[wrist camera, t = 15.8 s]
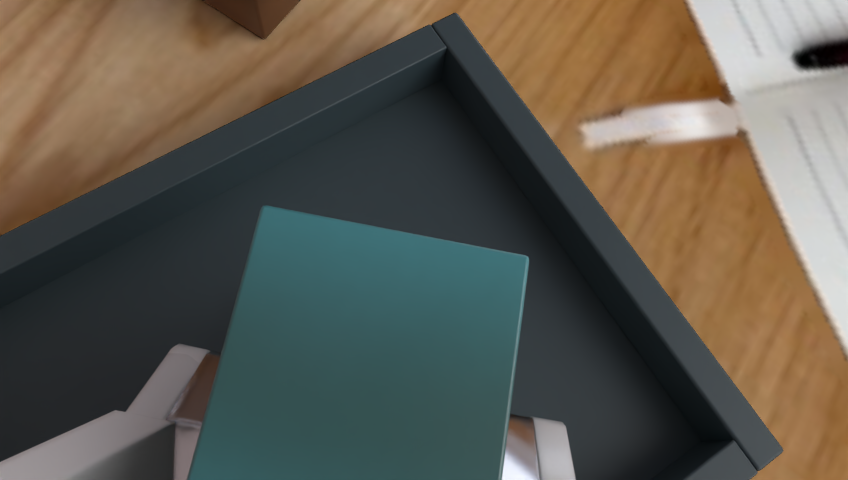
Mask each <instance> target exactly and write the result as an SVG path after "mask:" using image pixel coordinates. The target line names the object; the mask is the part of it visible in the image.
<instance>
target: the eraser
mask: <svg viewBox="0 0 848 480" xmlns="http://www.w3.org/2000/svg"><path fill="white" fill-rule="evenodd" d="M528 268H529V258H528V256H526V255H521V254H516V253H511V252H506V251H500V250H495V249H490V248H485V247H480V246H474V245H469V244H464V243H459V242H454V241H449V240H443V239H438V238H433V237H428V236H423V235H417V234H412V233H407V232H402V231H397V230H391V229H386V228H381V227H376V226H371V225H365V224H360V223H355V222H350V221H345V220H340V219H334V218H329V217H324V216H319V215H314V214H308V213H303V212H298V211H293V210H288V209H282V208H277V207H272V206H263V207H262V208H261V210H260V213H259V217H258V221H257V224H256V228H255V232H254V235H253V239H252V243H251V246H250V250H249V253H248V257H247V261H246V264H245V268H244V272H243V275H242V279H241V283H240V286H239V290H238V294H237V297H236V301H235V305H234V308H233V312H232V316H231V319H230V323H229V327H228V330H227V334H226V338H225V341H224V345H223V349H222V352H221V356H220V359H219V363H218V367H217V370H216V374H215V378H214V381H213V385H212V389H211V392H210V396H209V400H208V403H207V407H206V411H205V414H204V418H203V422H202V425H201V429H200V433H199V436H198V440H197V444H196V447H195V451H194V454H193V458H192V462H191V465H190V469H189V473H188V476H187V480H502V475H503V467H504V459H505V451H506V443H507V435H508V427H509V419H510V411H511V403H512V395H513V387H514V379H515V371H516V363H517V355H518V347H519V339H520V331H521V323H522V315H523V307H524V299H525V291H526V283H527V276H528Z"/></svg>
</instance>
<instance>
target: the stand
mask: <svg viewBox="0 0 848 480" xmlns="http://www.w3.org/2000/svg"><path fill="white" fill-rule="evenodd" d="M203 1H204V2H206V3H208V4H209V5H211V6H212V7H214V8H215V9H217V10H219V11H220V12H222V13H223V14H225V15H226V16H228V17H230V18H231V19H233V20H234V21H236V22H237V23H239V24H241V25H242V26H244V27H245V28H247V29H248V30H250V31H252V32H253V33H255V34H256V35H258V36H259V37H261V38H263V39H265V38H266V37H267V36H268V35H269V34H270V33H271V32H272V31H273V30H274V29H275V27H276V26H277V25H278V24H279V23H280V22H281V21H282V20H283V19H284V18H285V16H286V15H287V14H288V13H289V12H290V11H291V10H292V9H293V8H294V7H295V6H296V4H297V3H298V2H299V1H300V0H203Z"/></svg>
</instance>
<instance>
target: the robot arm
mask: <svg viewBox="0 0 848 480" xmlns="http://www.w3.org/2000/svg"><path fill="white" fill-rule="evenodd" d="M220 356H221V352H217V351H209V350H206V349H201V348H197V347H192V346H188V345H183V344H178V345H176V346H174V347H173V348H171V350H170V351H169V352H168V354H167V355H166V356H165V358H164V359H163V361H162V362H161V363H160V365H159V366H158V368H157V369H156V370H155V372H154V373H153V374H152V376H151V377H150V379H149V380H148V381H147V383H146V384H145V386H144V387H143V388H142V390H141V391H140V392H139V394H138V395H137V397H136V398H135V399H134V401H133V402H132V404H131V405H130V406H129V408H128V409H127V410H126V412H123V411H117V410H115V411H112V412H110V413H108V414H106V415H103V416H101V417H99V418H97V419H95V420H92V421H90V422H88V423H86V424H83V425H81V426H79V427H77V428H75V429H72V430H70V431H68V432H66V433H63V434H61V435H59V436H57V437H55V438H52V439H50V440H48V441H46V442H43V443H41V444H39V445H37V446H35V447H32V448H30V449H28V450H26V451H23V452H21V453H19V454H17V455H15V456H12V457H10V458H8V459H6V460H3V461H1V462H0V480H187V476H188V473H189V469H190V465H191V462H192V458H193V454H194V451H195V447H196V444H197V440H198V436H199V433H200V429H201V425H202V422H203V418H204V414H205V411H206V407H207V403H208V400H209V396H210V392H211V389H212V385H213V381H214V378H215V374H216V370H217V367H218V363H219V359H220ZM502 480H576V478H575V472H574V467H573V462H572V456H571V451H570V446H569V440H568V435H567V430H566V426H565V425H564V424H563V422H560V421H554V420H549V419H543V418H537V417H532V416H531V417H527V416H522V415H517V414H512V413H510V419H509V427H508V435H507V443H506V451H505V459H504V467H503V475H502Z"/></svg>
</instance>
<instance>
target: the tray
mask: <svg viewBox="0 0 848 480" xmlns="http://www.w3.org/2000/svg"><path fill="white" fill-rule="evenodd" d="M263 206H272V207H277V208H282V209H288V210H293V211H298V212H303V213H308V214H314V215H319V216H324V217H329V218H334V219H340V220H345V221H350V222H355V223H360V224H365V225H371V226H376V227H381V228H386V229H391V230H397V231H402V232H407V233H412V234H417V235H423V236H428V237H433V238H438V239H443V240H449V241H454V242H459V243H464V244H469V245H474V246H480V247H485V248H490V249H495V250H500V251H506V252H511V253H516V254H521V255H526V256H528V258H529V268H528V276H527V283H526V291H525V299H524V307H523V315H522V323H521V331H520V339H519V347H518V355H517V363H516V371H515V379H514V387H513V395H512V403H511V411H510V413H512V414H517V415H522V416H527V417H531V416H532V417H537V418H543V419H549V420H554V421H560V422H563V424H564V425H565V426H566V430H567V435H568V440H569V446H570V451H571V456H572V462H573V467H574V472H575V478H576V480H750V479H751V478H752V477H754V476H755V475H756V474H757V471H760V470H761V469H763V468H764V467H765V466H766V465H768V464H769V463H770V462H771V461H773V460H774V459H775V458H776V457H778V456H779V455H780V454H781V453H782V452H783V449H782V447H781V446H780V444H779V443H778V442H777V440H776V439H775V438H774V436H773V435H772V434H771V432H770V431H769V430H768V428H767V427H766V426H765V424H764V423H763V422H762V420H761V419H760V418H759V416H758V415H757V414H756V412H755V411H754V410H753V408H752V407H751V405H750V404H749V403H748V401H747V400H746V399H745V397H744V396H743V395H742V393H741V392H740V391H739V389H738V388H737V387H736V385H735V384H734V383H733V381H732V380H731V379H730V377H729V376H728V375H727V373H726V372H725V371H724V369H723V368H722V367H721V365H720V364H719V363H718V361H717V360H716V359H715V357H714V356H713V355H712V353H711V352H710V351H709V349H708V348H707V347H706V345H705V344H704V343H703V341H702V340H701V339H700V337H699V336H698V335H697V333H696V332H695V331H694V329H693V328H692V327H691V325H690V324H689V323H688V321H687V320H686V319H685V317H684V316H683V315H682V313H681V312H680V311H679V309H678V308H677V307H676V305H675V304H674V303H673V301H672V300H671V299H670V297H669V296H668V295H667V293H666V292H665V291H664V289H663V288H662V287H661V285H660V284H659V283H658V281H657V280H656V279H655V277H654V276H653V275H652V273H651V272H650V271H649V269H648V268H647V266H646V265H645V264H644V262H643V261H642V260H641V258H640V257H639V256H638V254H637V253H636V252H635V250H634V249H633V248H632V246H631V245H630V244H629V242H628V241H627V240H626V238H625V237H624V236H623V234H622V233H621V232H620V230H619V229H618V228H617V226H616V225H615V224H614V222H613V221H612V220H611V218H610V217H609V216H608V214H607V213H606V212H605V210H604V209H603V208H602V206H601V205H600V204H599V202H598V201H597V200H596V198H595V197H594V196H593V194H592V193H591V192H590V190H589V189H588V188H587V186H586V185H585V184H584V182H583V181H582V180H581V178H580V177H579V176H578V174H577V173H576V172H575V170H574V169H573V168H572V166H571V165H570V164H569V162H568V161H567V160H566V158H565V157H564V156H563V154H562V153H561V152H560V150H559V149H558V148H557V146H556V145H555V144H554V142H553V141H552V140H551V138H550V137H549V136H548V134H547V133H546V132H545V130H544V129H543V128H542V126H541V125H540V123H539V122H538V121H537V119H536V118H535V117H534V115H533V114H532V113H531V111H530V110H529V109H528V107H527V106H526V105H525V103H524V102H523V101H522V99H521V98H520V97H519V95H518V94H517V93H516V91H515V90H514V89H513V87H512V86H511V85H510V83H509V82H508V81H507V79H506V78H505V77H504V75H503V74H502V73H501V71H500V70H499V69H498V67H497V66H496V65H495V63H494V62H493V61H492V59H491V58H490V57H489V55H488V54H487V53H486V51H485V50H484V49H483V47H482V46H481V45H480V43H479V42H478V41H477V39H476V38H475V37H474V35H473V34H472V33H471V31H470V30H469V29H468V27H467V26H466V25H465V23H464V22H463V21H462V19H461V18H460V17H459V15H458V14H457V13H453V14H451V15H449V16H447V17H445V18H443V19H441V20H439V21H437V22H435V23H433V24H432V25H427V26H425V27H423V28H421V29H419V30H417V31H415V32H413V33H411V34H409V35H407V36H405V37H403V38H401V39H399V40H397V41H395V42H393V43H391V44H389V45H387V46H385V47H383V48H380V49H378V50H376V51H374V52H372V53H370V54H368V55H366V56H364V57H362V58H360V59H358V60H356V61H354V62H352V63H350V64H348V65H346V66H344V67H342V68H340V69H338V70H336V71H334V72H332V73H330V74H328V75H326V76H324V77H322V78H320V79H318V80H316V81H314V82H312V83H309V84H307V85H305V86H303V87H301V88H299V89H297V90H295V91H293V92H291V93H289V94H287V95H285V96H283V97H281V98H279V99H277V100H275V101H273V102H271V103H269V104H267V105H265V106H263V107H261V108H259V109H257V110H255V111H253V112H251V113H249V114H247V115H245V116H243V117H241V118H238V119H236V120H234V121H232V122H230V123H228V124H226V125H224V126H222V127H220V128H218V129H216V130H214V131H212V132H210V133H208V134H206V135H204V136H202V137H200V138H198V139H196V140H194V141H192V142H190V143H188V144H186V145H184V146H182V147H180V148H178V149H176V150H174V151H172V152H169V153H167V154H165V155H163V156H161V157H159V158H157V159H155V160H153V161H151V162H149V163H147V164H145V165H143V166H141V167H139V168H137V169H135V170H133V171H131V172H129V173H127V174H125V175H123V176H121V177H119V178H117V179H115V180H113V181H111V182H109V183H107V184H105V185H103V186H101V187H98V188H96V189H94V190H92V191H90V192H88V193H86V194H84V195H82V196H80V197H78V198H76V199H74V200H72V201H70V202H68V203H66V204H64V205H62V206H60V207H58V208H56V209H54V210H52V211H50V212H48V213H46V214H44V215H42V216H40V217H38V218H36V219H34V220H32V221H30V222H27V223H25V224H23V225H21V226H19V227H17V228H15V229H13V230H11V231H9V232H7V233H5V234H3V235H1V236H0V462H1V461H3V460H6V459H8V458H10V457H12V456H15V455H17V454H19V453H21V452H23V451H26V450H28V449H30V448H32V447H35V446H37V445H39V444H41V443H43V442H46V441H48V440H50V439H52V438H55V437H57V436H59V435H61V434H63V433H66V432H68V431H70V430H72V429H75V428H77V427H79V426H81V425H83V424H86V423H88V422H90V421H92V420H95V419H97V418H99V417H101V416H103V415H106V414H108V413H110V412H112V411H115V410H117V411H123V412H126V410H127V409H128V408H129V406H130V405H131V404H132V402H133V401H134V399H135V398H136V397H137V395H138V394H139V392H140V391H141V390H142V388H143V387H144V386H145V384H146V383H147V381H148V380H149V379H150V377H151V376H152V374H153V373H154V372H155V370H156V369H157V368H158V366H159V365H160V363H161V362H162V361H163V359H164V358H165V356H166V355H167V354H168V352H169V351H170V350H171V348H173V347H174V346H176V345H178V344H183V345H188V346H192V347H197V348H201V349H206V350H209V351H217V352H222V349H223V345H224V341H225V338H226V334H227V330H228V327H229V323H230V319H231V316H232V312H233V308H234V305H235V301H236V297H237V294H238V290H239V286H240V283H241V279H242V275H243V272H244V268H245V264H246V261H247V257H248V253H249V250H250V246H251V243H252V239H253V235H254V232H255V228H256V224H257V221H258V217H259V213H260V210H261V208H262V207H263Z"/></svg>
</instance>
